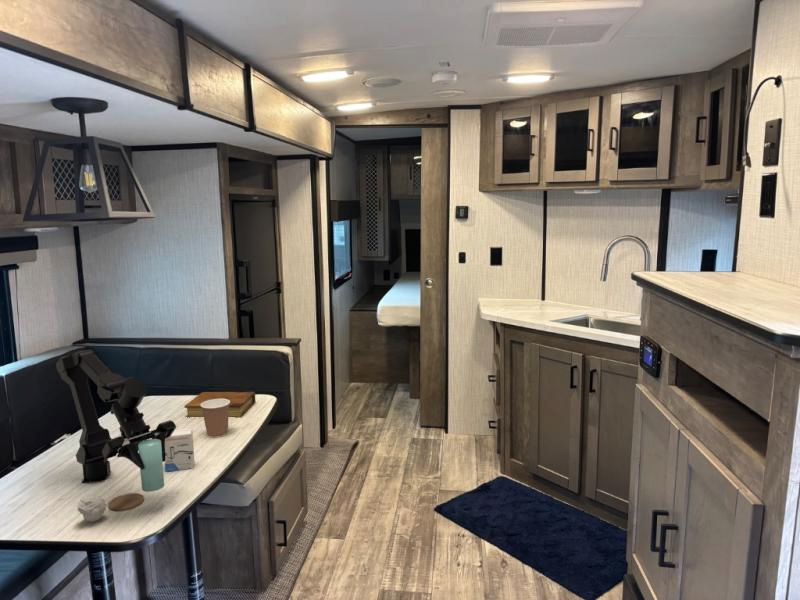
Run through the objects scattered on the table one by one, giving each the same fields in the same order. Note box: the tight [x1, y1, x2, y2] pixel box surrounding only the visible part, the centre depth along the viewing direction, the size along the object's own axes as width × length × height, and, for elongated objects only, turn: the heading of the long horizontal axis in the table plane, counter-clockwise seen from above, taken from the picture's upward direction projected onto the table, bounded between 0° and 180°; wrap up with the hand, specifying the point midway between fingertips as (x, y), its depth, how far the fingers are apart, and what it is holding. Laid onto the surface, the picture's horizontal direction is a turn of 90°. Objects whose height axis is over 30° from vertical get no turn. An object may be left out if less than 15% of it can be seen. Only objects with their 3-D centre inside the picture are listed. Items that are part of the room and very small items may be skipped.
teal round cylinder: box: [138, 438, 165, 493], centre depth 150 cm, size 6×6×12 cm
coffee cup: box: [201, 399, 230, 438], centre depth 204 cm, size 10×10×12 cm
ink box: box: [164, 428, 195, 473], centre depth 177 cm, size 9×5×12 cm, turn 105°
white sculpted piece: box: [76, 495, 107, 523], centre depth 146 cm, size 6×7×7 cm
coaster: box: [107, 492, 145, 512], centre depth 155 cm, size 9×9×1 cm
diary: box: [184, 391, 256, 419], centre depth 232 cm, size 23×19×6 cm
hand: (154, 464), depth 149 cm, fingers closed on teal round cylinder, 6 cm apart
